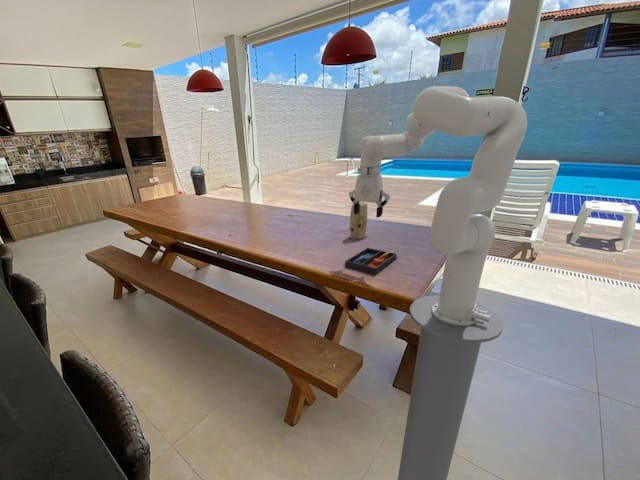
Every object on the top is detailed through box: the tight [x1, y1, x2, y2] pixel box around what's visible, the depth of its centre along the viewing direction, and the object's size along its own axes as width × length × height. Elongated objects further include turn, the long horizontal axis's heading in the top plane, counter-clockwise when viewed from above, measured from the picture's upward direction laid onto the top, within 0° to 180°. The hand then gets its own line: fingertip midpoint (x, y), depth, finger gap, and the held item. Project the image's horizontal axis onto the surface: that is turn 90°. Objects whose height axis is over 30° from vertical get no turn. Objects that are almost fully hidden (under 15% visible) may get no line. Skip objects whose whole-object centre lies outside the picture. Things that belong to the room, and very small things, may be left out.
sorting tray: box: [344, 247, 397, 276], centre depth 134 cm, size 14×20×3 cm
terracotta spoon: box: [374, 251, 390, 265], centre depth 134 cm, size 4×11×3 cm, turn 138°
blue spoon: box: [353, 255, 369, 263], centre depth 133 cm, size 4×11×3 cm, turn 138°
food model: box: [349, 201, 368, 240], centre depth 161 cm, size 10×7×20 cm
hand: (367, 215), depth 123 cm, fingers open, 9 cm apart
